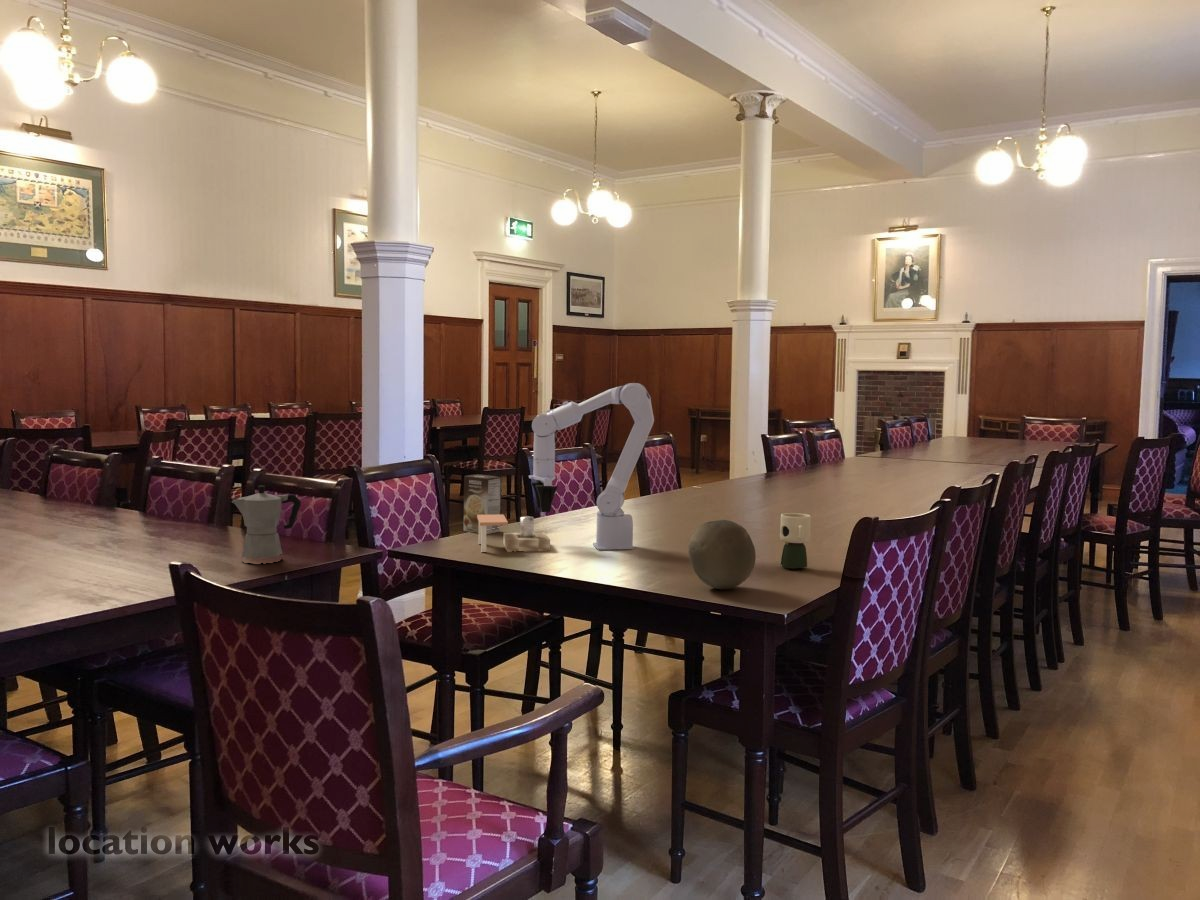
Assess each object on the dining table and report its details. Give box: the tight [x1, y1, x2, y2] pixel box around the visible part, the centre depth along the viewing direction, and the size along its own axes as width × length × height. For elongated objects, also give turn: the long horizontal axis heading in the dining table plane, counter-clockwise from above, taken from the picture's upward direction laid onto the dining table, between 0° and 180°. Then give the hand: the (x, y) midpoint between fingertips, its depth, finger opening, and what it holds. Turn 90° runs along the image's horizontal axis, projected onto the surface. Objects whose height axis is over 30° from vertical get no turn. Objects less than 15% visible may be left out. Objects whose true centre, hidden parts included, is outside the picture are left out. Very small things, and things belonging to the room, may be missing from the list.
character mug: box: [779, 512, 812, 570], centre depth 219 cm, size 11×7×13 cm, turn 3°
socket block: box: [503, 531, 551, 553], centre depth 239 cm, size 11×11×3 cm
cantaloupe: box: [688, 519, 757, 590], centre depth 195 cm, size 14×14×15 cm
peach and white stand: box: [477, 513, 509, 553], centre depth 237 cm, size 7×13×8 cm, turn 11°
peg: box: [519, 515, 535, 538], centre depth 239 cm, size 4×4×8 cm
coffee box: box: [462, 473, 502, 535], centre depth 262 cm, size 9×6×16 cm
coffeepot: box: [231, 484, 302, 558], centre depth 216 cm, size 15×9×18 cm, turn 115°
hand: (543, 509), depth 243 cm, fingers open, 7 cm apart
